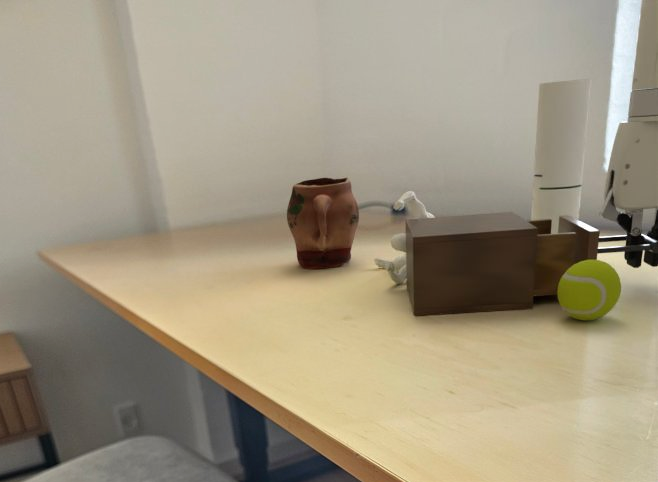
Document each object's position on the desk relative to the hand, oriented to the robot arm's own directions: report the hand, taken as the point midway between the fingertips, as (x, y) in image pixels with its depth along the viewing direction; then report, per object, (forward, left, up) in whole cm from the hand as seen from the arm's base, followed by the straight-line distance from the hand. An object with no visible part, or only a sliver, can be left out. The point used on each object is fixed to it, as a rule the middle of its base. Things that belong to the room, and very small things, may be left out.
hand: (641, 264), depth 85 cm
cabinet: (+23, 0, -3) cm, 23 cm away
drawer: (+10, 0, -2) cm, 11 cm away
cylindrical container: (+6, -22, -3) cm, 23 cm away
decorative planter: (+43, -28, -3) cm, 51 cm away
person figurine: (+28, -16, -3) cm, 32 cm away
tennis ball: (+11, +13, -3) cm, 17 cm away
